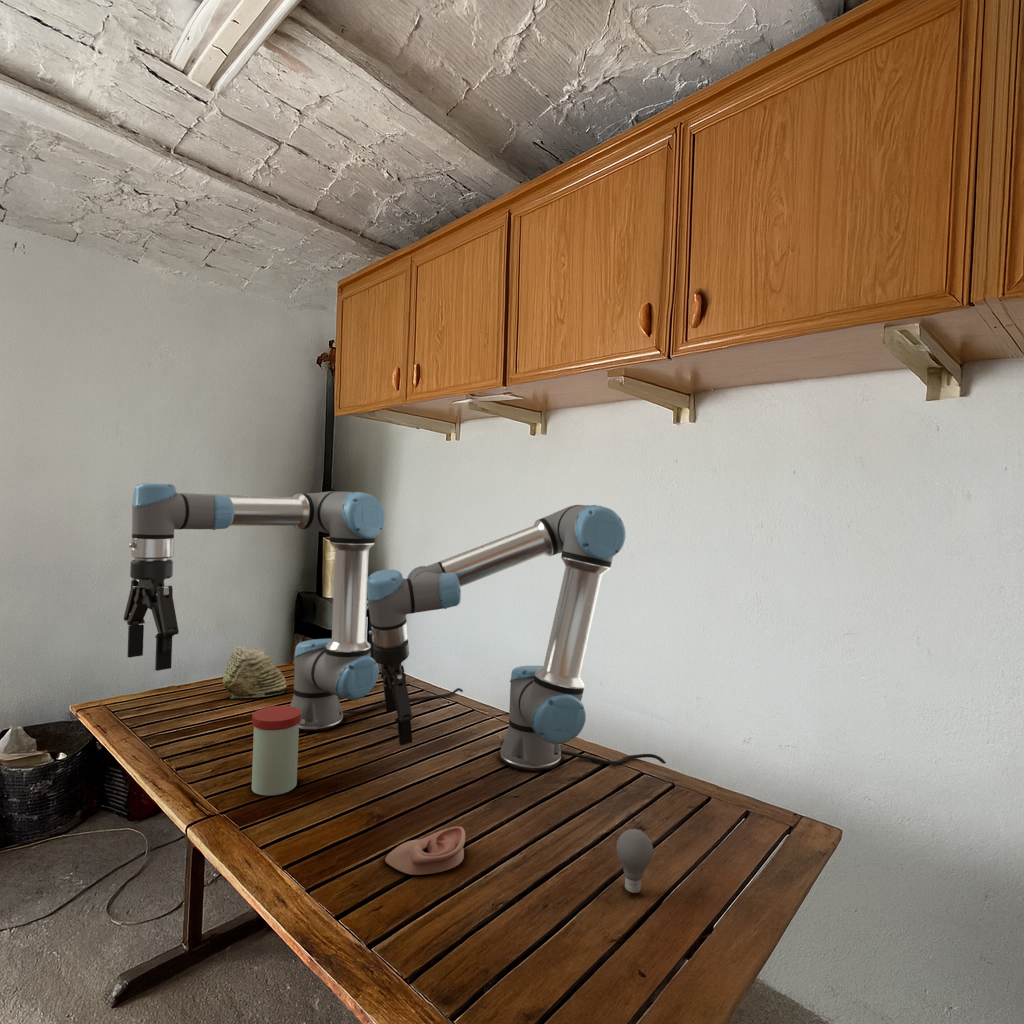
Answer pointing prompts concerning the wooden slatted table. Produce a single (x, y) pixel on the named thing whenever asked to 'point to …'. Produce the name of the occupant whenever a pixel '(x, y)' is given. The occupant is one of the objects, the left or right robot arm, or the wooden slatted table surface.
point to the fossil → (252, 674)
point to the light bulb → (634, 857)
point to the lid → (276, 717)
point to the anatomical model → (429, 853)
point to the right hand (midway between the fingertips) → (398, 726)
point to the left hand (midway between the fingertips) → (148, 662)
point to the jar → (275, 760)
